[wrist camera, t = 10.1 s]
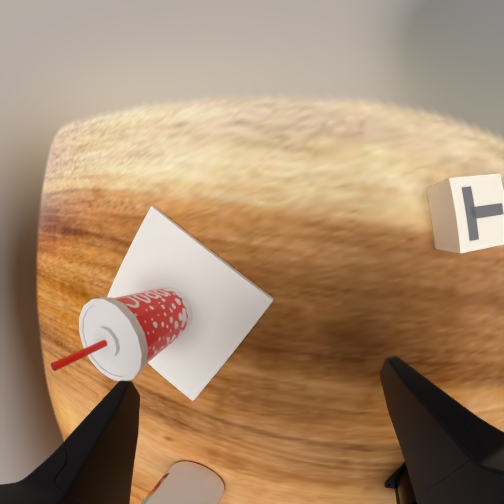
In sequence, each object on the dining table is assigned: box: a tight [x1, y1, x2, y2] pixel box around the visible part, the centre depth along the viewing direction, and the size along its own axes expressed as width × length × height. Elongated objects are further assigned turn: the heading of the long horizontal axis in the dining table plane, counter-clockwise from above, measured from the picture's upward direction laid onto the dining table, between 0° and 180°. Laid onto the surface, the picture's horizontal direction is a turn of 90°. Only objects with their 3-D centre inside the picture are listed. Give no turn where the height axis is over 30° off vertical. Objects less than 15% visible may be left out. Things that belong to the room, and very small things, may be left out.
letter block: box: [426, 174, 504, 253], centre depth 16 cm, size 5×5×5 cm
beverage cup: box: [51, 287, 193, 381], centre depth 19 cm, size 6×6×14 cm
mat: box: [107, 206, 274, 401], centre depth 26 cm, size 14×14×1 cm
